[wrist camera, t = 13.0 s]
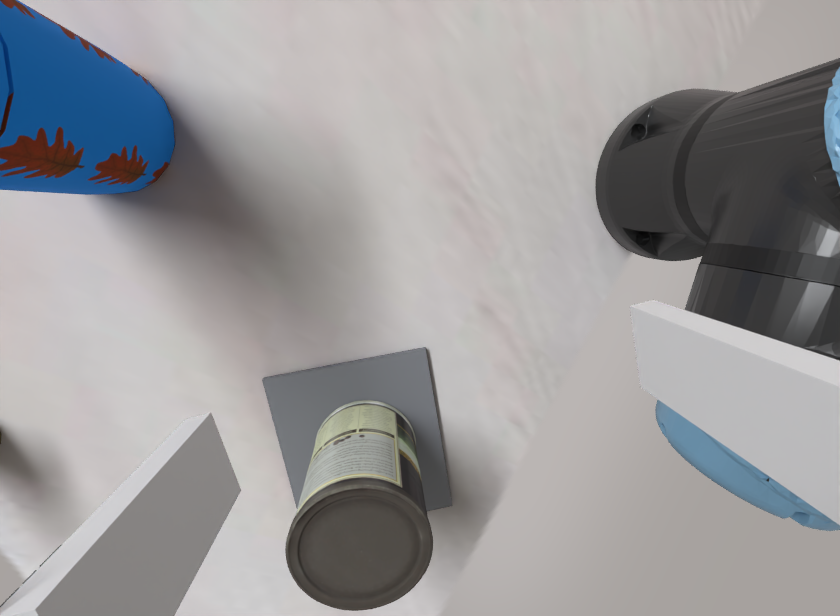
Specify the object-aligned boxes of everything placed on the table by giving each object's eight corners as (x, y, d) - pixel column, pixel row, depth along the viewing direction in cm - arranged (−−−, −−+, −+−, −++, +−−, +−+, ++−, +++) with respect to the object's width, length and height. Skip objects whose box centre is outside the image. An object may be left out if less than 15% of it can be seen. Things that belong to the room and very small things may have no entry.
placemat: (425, 347, 43) (425, 349, 42) (451, 502, 47) (452, 505, 46) (263, 377, 42) (262, 379, 41) (305, 532, 46) (304, 536, 46)
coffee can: (436, 433, 44) (462, 532, 31) (377, 506, 46) (376, 633, 32) (353, 379, 42) (341, 459, 29) (294, 457, 44) (255, 571, 30)
